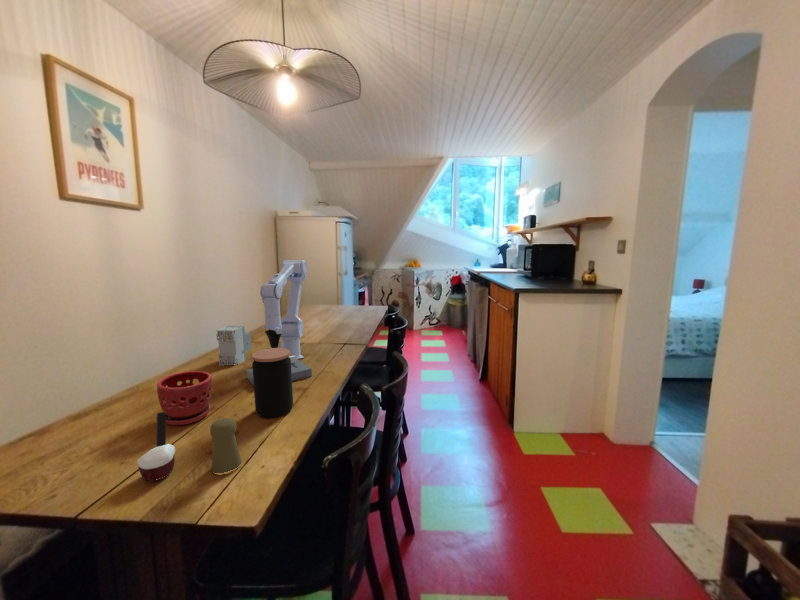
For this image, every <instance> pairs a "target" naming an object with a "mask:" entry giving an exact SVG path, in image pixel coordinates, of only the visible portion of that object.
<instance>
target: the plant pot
mask: <svg viewBox="0 0 800 600" xmlns="http://www.w3.org/2000/svg"><path fill="white" fill-rule="evenodd" d="M194 380H198V383H196V384H194V383H193V382H194ZM187 381H189V382H187ZM212 381H213V380H212V374H210V373H209V372H207V371H201V370H193V371H184V372H177V373H174V374H169V375H167V376H165V377H163V378H161V379H159V381H158V382H157V384H156V392H157V396H158V401H159V402H158V403H159V405H160V408H161V410H162V411H163V412H165V413H166V424H168V425H171V426H183V425H188V424H193V423H196V422H198V421H200V420H202V419H203V418H204V417H206V416H207V415H208V414H209V413H210V410H211V406H210V405H209V403H210V401H211V396H212V388H213V387H212V386H213V385H212V384H213V382H212ZM179 382H181V384H180V385H179V384H178V383H179Z"/></svg>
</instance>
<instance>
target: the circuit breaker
mask: <svg viewBox="0 0 800 600" xmlns="http://www.w3.org/2000/svg"><path fill="white" fill-rule="evenodd" d="M245 329H246V328H245V326H244V325H243V326H242V325H226V326H224V327H221V328H219V329H216V335H215V336H216V341H217V342H218V352H219V353H218V355H217V357H218V358H217V360H218V362H219V364H218V366H224V365H234V364H235V365H237V364H238V365H240V364H241V362H242V363H244V362H245V361H247V360H248V359H247V358H248V357H247V351H249V350H251V349H252V335H251V334H252V333H251V331H246V330H245ZM246 359H247V360H246ZM239 363H240V364H239ZM238 365H237V366H238Z"/></svg>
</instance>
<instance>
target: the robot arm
mask: <svg viewBox="0 0 800 600" xmlns="http://www.w3.org/2000/svg"><path fill="white" fill-rule="evenodd" d="M307 274H308V264H307V261H306V260H304V259H302V260H301V259H298V260H297V259H295V260H294V259H292V260H291V259H284V260H283V261H282V262H281V269H280V271H279V273H278V272H277V273H275V274H274V275H273V276H272V277H271V278H270V280H269V281H268V282H267V283H263V284H262V285H261V287H260V292H259V295H260V297H261V301H262V304H263V309H264V311H263V312H264V325H263V326H261V327H262V328H261V329H263V330H264V332H265V334H266V337H267V339H268V342H269V345H270V348H279V343H280V348H285V349H288V350H290V356H296V359H298V360H301V359H304V358H305V356H304V355H303V354H301V338H302V337H303V335H304V331H305V330H304V321H303V319H301V318H300V317H299V311H300V304H301V303H300V302H301V295H302V287H303V282H304V281H305V280H306V279H307ZM288 281H289V282H290V285H289V286H290V287H289V295H288V301H287V308H286V315H285V316H284V317H281V303H280V302H281V301H280V299H281V297H282V295H283V291H284V287H285V286H286V285H287V283H288ZM265 329H266V330H265Z"/></svg>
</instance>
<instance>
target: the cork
mask: <svg viewBox="0 0 800 600" xmlns="http://www.w3.org/2000/svg"><path fill="white" fill-rule="evenodd" d="M237 426H238V425H237V422H236V420H235V419H234V418H232V417H223V418H220V419H218V420H215V421H214V422H213V423H212V424H211V426H210V428H209V433H210V436H211V437H212V438H213V442H212V443H213V444H212V458H211V459H212V460H211V472H212V471H213V472H214V473H224V472H228V471H230V470H233V469H235V468H237V467H238V466H239V465H240V464H241V462H242V459H241V455H240V450H239V447H238V442H237V439H236V432H237ZM241 465H242V464H241Z"/></svg>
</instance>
